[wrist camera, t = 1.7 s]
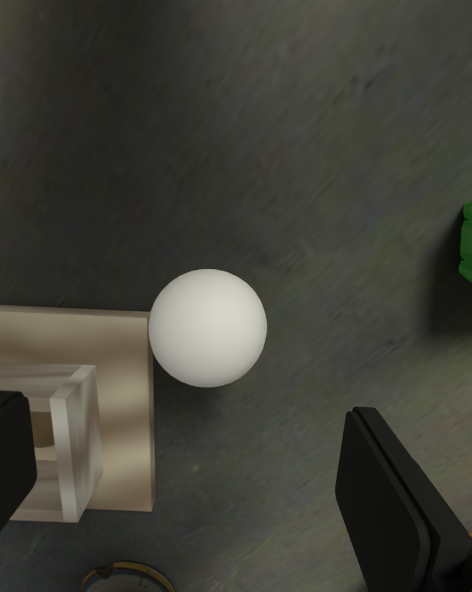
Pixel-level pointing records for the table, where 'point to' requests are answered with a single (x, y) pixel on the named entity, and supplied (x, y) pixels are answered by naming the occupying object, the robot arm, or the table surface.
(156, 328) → the lightbulb
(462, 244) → the fruit basket
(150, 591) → the apothecary jar
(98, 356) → the socket
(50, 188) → the table surface
